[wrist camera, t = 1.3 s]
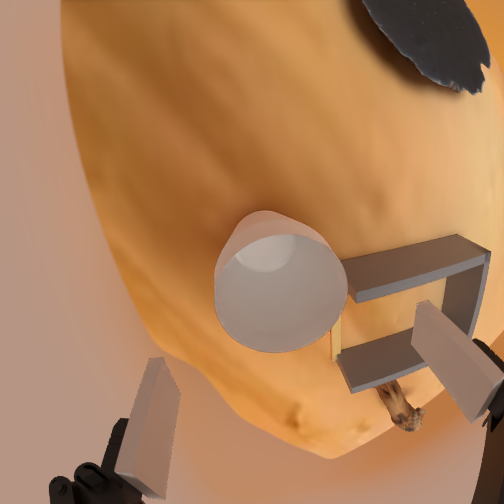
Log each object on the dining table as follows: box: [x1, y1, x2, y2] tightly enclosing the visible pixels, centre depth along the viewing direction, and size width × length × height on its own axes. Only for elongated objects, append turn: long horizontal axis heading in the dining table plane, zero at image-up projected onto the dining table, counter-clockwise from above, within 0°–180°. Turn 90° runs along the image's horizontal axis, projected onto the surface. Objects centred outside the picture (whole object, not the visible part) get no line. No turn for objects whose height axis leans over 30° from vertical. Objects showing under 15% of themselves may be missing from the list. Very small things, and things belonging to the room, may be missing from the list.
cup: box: [214, 210, 348, 353], centre depth 23 cm, size 9×9×12 cm
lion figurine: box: [372, 379, 426, 432], centre depth 34 cm, size 15×5×9 cm, turn 45°
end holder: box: [331, 234, 491, 394], centre depth 29 cm, size 14×20×7 cm
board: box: [362, 0, 491, 95], centre depth 18 cm, size 22×22×5 cm
